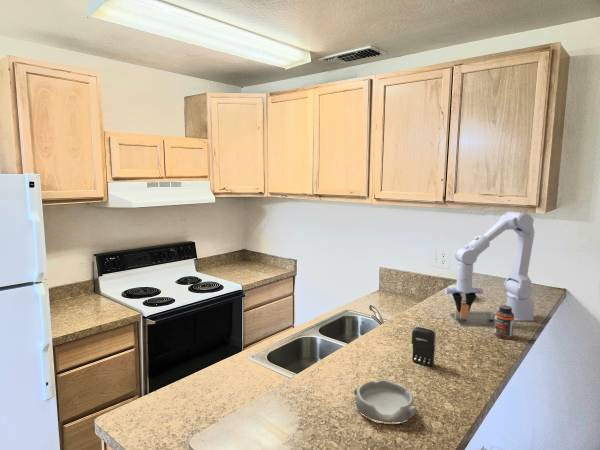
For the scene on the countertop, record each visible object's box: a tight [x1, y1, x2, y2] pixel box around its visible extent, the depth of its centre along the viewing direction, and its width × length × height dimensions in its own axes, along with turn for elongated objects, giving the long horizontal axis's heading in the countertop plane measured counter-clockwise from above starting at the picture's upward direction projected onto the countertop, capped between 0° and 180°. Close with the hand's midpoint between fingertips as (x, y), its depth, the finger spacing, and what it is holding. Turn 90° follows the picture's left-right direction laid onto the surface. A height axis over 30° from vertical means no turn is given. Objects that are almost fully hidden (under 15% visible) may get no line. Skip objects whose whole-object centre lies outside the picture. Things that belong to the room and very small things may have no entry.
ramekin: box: [447, 284, 466, 302], centre depth 183 cm, size 11×11×5 cm
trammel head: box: [460, 301, 469, 320], centre depth 155 cm, size 3×4×6 cm
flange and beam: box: [449, 310, 496, 327], centre depth 155 cm, size 16×12×4 cm
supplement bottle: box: [494, 304, 515, 340], centre depth 139 cm, size 6×6×11 cm
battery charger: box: [411, 325, 437, 367], centre depth 120 cm, size 7×4×11 cm, turn 55°
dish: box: [353, 379, 417, 422], centre depth 97 cm, size 14×14×5 cm
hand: (463, 310), depth 155 cm, fingers closed on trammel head, 3 cm apart
